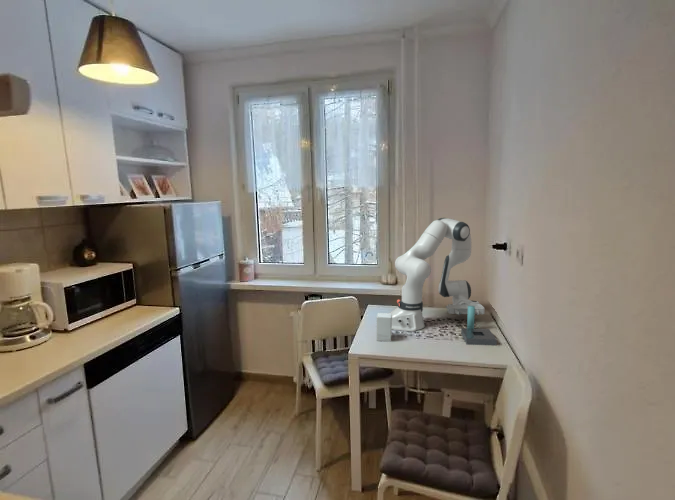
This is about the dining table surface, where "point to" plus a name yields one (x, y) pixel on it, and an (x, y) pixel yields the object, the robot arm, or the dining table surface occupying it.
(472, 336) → the socket block
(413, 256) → the robot arm
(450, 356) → the dining table surface
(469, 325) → the peg
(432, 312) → the dining table surface
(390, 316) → the supplement box
